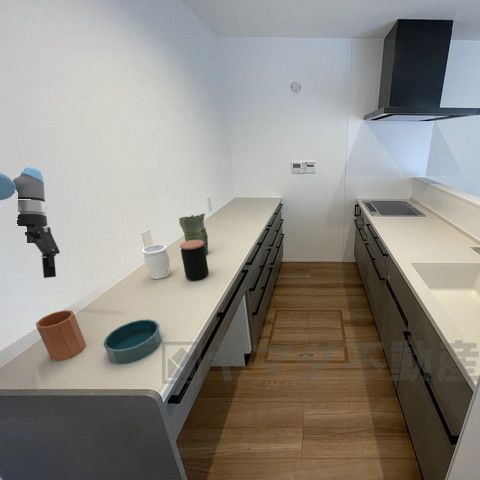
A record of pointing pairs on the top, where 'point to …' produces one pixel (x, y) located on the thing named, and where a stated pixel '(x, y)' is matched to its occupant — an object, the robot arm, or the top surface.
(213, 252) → the top surface
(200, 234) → the pouch
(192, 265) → the coffee jar
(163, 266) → the jar
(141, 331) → the teal round bowl
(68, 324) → the terracotta pot
